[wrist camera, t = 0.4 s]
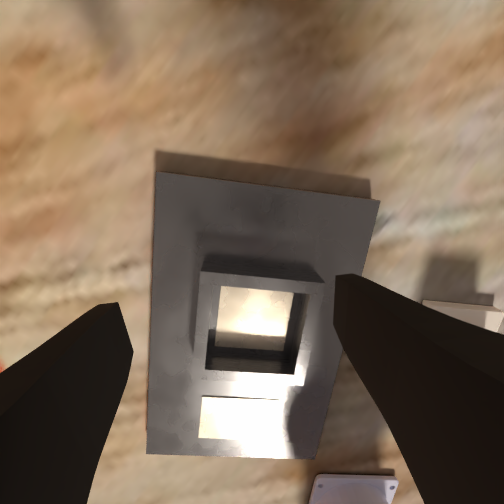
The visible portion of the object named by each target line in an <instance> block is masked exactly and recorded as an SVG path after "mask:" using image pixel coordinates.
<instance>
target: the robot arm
mask: <svg viewBox="0 0 504 504" xmlns="http://www.w3.org/2000/svg"><path fill="white" fill-rule="evenodd" d="M333 326H334V328H335V331H336V333H337V335H338V338H339V340H340V342H341V345H342V347H343V349H344V351H345V353H346V355H347V356H348V358H349V360H350V361H351V363H352V365H353V367H354V368H355V370H356V372H357V373H358V375H359V377H360V378H361V380H362V382H363V383H364V385H365V387H366V388H367V390H368V392H369V393H370V395H371V397H372V398H373V400H374V402H375V403H376V405H377V407H378V408H379V410H380V412H381V413H382V415H383V417H384V419H385V421H386V423H387V424H388V426H389V428H390V430H391V432H392V435H393V437H394V439H395V441H396V443H397V445H398V447H399V449H400V451H401V453H402V455H403V458H404V460H405V462H406V464H407V466H408V468H409V471H410V473H411V475H412V477H413V479H414V482H415V484H416V486H417V488H418V490H419V493H420V495H421V497H422V499H423V501H424V504H504V335H503V334H500V333H497V332H494V331H491V330H488V329H485V328H482V327H479V326H476V325H473V324H470V323H467V322H464V321H462V320H459V319H456V318H454V317H451V316H449V315H446V314H444V313H441V312H439V311H436V310H434V309H432V308H429V307H427V306H424V305H422V304H420V303H418V302H415V301H413V300H411V299H409V298H406V297H404V296H402V295H400V294H398V293H396V292H394V291H391V290H389V289H387V288H385V287H383V286H381V285H379V284H377V283H375V282H373V281H370V280H368V279H366V278H364V277H361V276H359V275H356V274H354V273H351V274H343V275H335V294H334V313H333ZM133 352H134V351H133V348H132V345H131V342H130V338H129V335H128V332H127V329H126V326H125V323H124V319H123V316H122V313H121V310H120V307H119V303H118V302H115V303H107V304H99V305H97V306H95V307H94V308H92V309H91V310H89V311H88V312H86V313H85V314H83V315H82V316H80V317H79V318H78V319H76V320H75V321H73V322H72V323H71V324H69V325H68V326H67V327H65V328H64V329H63V330H61V331H60V332H58V333H57V334H56V335H54V336H53V337H52V338H50V339H49V340H47V341H46V342H45V343H43V344H42V345H41V346H39V347H38V348H36V349H35V350H33V351H32V352H31V353H29V354H28V355H26V356H25V357H23V358H22V359H20V360H19V361H17V362H16V363H15V364H13V365H12V366H10V367H9V368H7V369H6V370H4V371H3V372H1V373H0V504H87V501H88V497H89V493H90V489H91V485H92V482H93V478H94V474H95V471H96V468H97V465H98V462H99V459H100V456H101V453H102V450H103V447H104V445H105V442H106V439H107V436H108V434H109V431H110V428H111V425H112V423H113V420H114V417H115V414H116V412H117V409H118V406H119V403H120V401H121V398H122V395H123V392H124V389H125V386H126V383H127V380H128V376H129V371H130V367H131V362H132V357H133ZM398 483H399V482H398V480H397V478H396V477H395V476H376V475H338V474H319V475H317V476H316V478H315V481H314V485H313V489H312V493H311V496H310V500H309V504H391V502H392V499H393V497H394V494H395V491H396V489H397V486H398Z"/></svg>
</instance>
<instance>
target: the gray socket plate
mask: <svg viewBox="0 0 504 504" xmlns="http://www.w3.org/2000/svg"><path fill="white" fill-rule="evenodd" d="M379 204H380V201H379V200H375V199H369V198H361V197H354V196H346V195H339V194H331V193H323V192H316V191H308V190H300V189H293V188H285V187H277V186H270V185H262V184H254V183H247V182H239V181H231V180H224V179H216V178H208V177H201V176H193V175H185V174H178V173H170V172H163V171H158V172H156V194H155V222H154V250H153V278H152V306H151V334H150V363H149V391H148V419H147V447H146V454H162V455H193V456H225V457H257V458H288V459H315V457H316V453H317V449H318V445H319V441H320V437H321V433H322V429H323V425H324V421H325V418H326V414H327V410H328V406H329V402H330V398H331V394H332V390H333V386H334V382H335V378H336V374H337V370H338V366H339V362H340V358H341V354H342V350H343V347H342V345H341V342H340V340H339V338H338V335H337V333H336V331H335V328H334V326H333V313H334V294H335V275H343V274H351V273H354V274H356V275H359V276H361V275H362V272H363V268H364V264H365V260H366V256H367V252H368V248H369V244H370V240H371V236H372V232H373V228H374V224H375V220H376V216H377V212H378V208H379Z"/></svg>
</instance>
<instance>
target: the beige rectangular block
mask: <svg viewBox="0 0 504 504" xmlns="http://www.w3.org/2000/svg"><path fill="white" fill-rule="evenodd" d="M422 305H424V306H427V307H429V308H432V309H434V310H436V311H439V312H441V313H444V314H446V315H449V316H451V317H454V318H456V319H459V320H462V321H464V322H467V323H470V324H473V325H476V326H479V327H482V328H485V329H488V330H491V331H494V332H497V331H498V329H499V326H500V324H501V322H502V319H503V317H504V312H503V311H501V310H499V309H497V308H495V307H493V306H483V305H472V304H462V303H451V302H440V301H430V300H423V302H422Z"/></svg>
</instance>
